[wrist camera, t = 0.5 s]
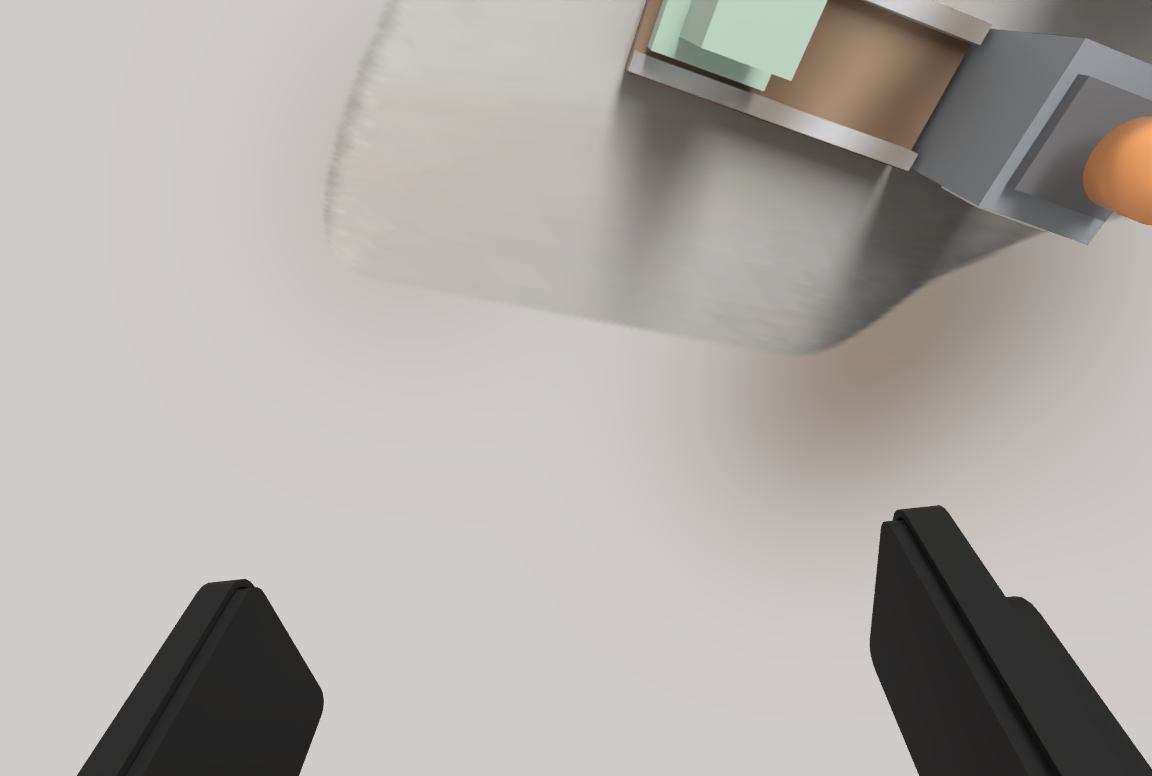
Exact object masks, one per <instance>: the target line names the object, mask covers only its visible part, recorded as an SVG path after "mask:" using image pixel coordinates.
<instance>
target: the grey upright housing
mask: <svg viewBox="0 0 1152 776" xmlns="http://www.w3.org/2000/svg"><path fill="white" fill-rule="evenodd" d="M1145 116H1152V65H1151V64H1148V63H1146V62H1143V61H1141V60H1139V59H1136V58H1134V57H1131V56H1129V55H1126V54H1124V53H1121V52H1119V51H1117V50H1114V49H1112V48H1109V47H1107V46H1104V45H1102V44H1099V43H1097V42H1094V41H1092V40H1090V39H1087V38H1080V37H1069V36H1059V35H1049V34H1038V33H1028V32H1017V31H1007V30H996V29H989V31H988V33H987V35H986V36H985V38H984V40H983V42H982V43H981V45H975V44H971V45H970V46H969V48H968V50H967V52H966V54H965V55H964V57H963V59H962V61H961V62H960V64H959V66H958V68H957V70H956V71H955V73H954V75H953V77H952V78H951V80H950V82H949V84H948V86H947V87H946V89H945V91H944V93H943V94H942V96H941V98H940V100H939V102H938V103H937V105H936V107H935V109H934V110H933V112H932V114H931V116H930V118H929V119H928V121H927V123H926V125H925V126H924V128H923V130H922V132H921V134H920V135H919V137H918V139H917V141H916V142H915V144H914V146H913V148H912V150H911V151H913V152H915V153H917V154H918V156H917V157H916V159H915V161H914V163H913V164H912V166H911V169H913V170H914V171H916V172H918V173H920V174H922V175H923V176H925V177H927V178H929V179H931V180H932V181H934V182H936V183H938V184H940V185H941V186H942V187H941V188H943V189H944V190H946V191H948V192H950V193H952V194H953V195H955V196H957V197H959V198H960V199H962V200H964V201H966V202H968V203H967V204H969V205H971V206H974V207H977V208H979V209H982V210H985V211H987V212H990V213H993V214H996V215H999V216H1002V217H1004V218H1007V219H1010V220H1013V221H1016V222H1018V223H1021V224H1024V225H1027V226H1030V227H1033V228H1035V229H1038V230H1041V231H1045V230H1047V231H1050V232H1053V233H1056V234H1059V235H1062V236H1064V237H1067V238H1070V239H1073V240H1076V241H1079V242H1081V243H1084V244H1089V242H1090V241H1091V240H1092V238H1093V237H1094V236H1095V234H1096V233H1097V232H1098V230H1099V229H1100V228H1101V226H1102V225H1103V224H1104V222H1105V221H1106V220H1107V219H1108V217H1109V216H1110V215H1111V213H1112V212H1113V211H1111V210H1109V209H1106V208H1104V207H1102V206H1099V205H1097V204H1095V203H1094V202H1092V201H1091V200H1090V199H1089V198H1088V196H1087V195H1086V193H1085V190H1084V187H1083V172H1084V168H1085V165H1086V163H1087V160H1088V158H1089V156H1090V154H1091V153H1092V151H1093V150H1094V148H1095V147H1096V146H1097V144H1098V143H1099V142H1100V141H1101V140H1102V139H1103V138H1104V137H1105V136H1106V135H1107V134H1108V133H1110V132H1111V131H1112V130H1114V129H1115V128H1117V127H1118V126H1120V125H1122V124H1123V123H1125V122H1127V121H1130V120H1133V119H1136V118H1139V117H1145Z"/></svg>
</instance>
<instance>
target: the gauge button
mask: <svg viewBox="0 0 1152 776" xmlns="http://www.w3.org/2000/svg"><path fill="white" fill-rule="evenodd" d="M1083 187H1084V190H1085V193H1086V195H1087V196H1088V198H1089V199H1090V200H1091V201H1092V202H1094V203H1095V204H1097V205H1099V206H1102V207H1104V208H1106V209H1109V210H1111V211H1113V212H1116V213H1118V214H1121V215H1123V216H1125V217H1128V218H1130V219H1132V220H1135V221H1137V222H1140V223H1142V224H1146V225H1152V116H1145V117H1139V118H1136V119H1133V120H1130V121H1127V122H1125V123H1123V124H1122V125H1120V126H1118V127H1117V128H1115V129H1114V130H1112V131H1111V132H1110V133H1108V134H1107V135H1106V136H1105V137H1104V138H1103V139H1102V140H1101V141H1100V142H1099V143H1098V144H1097V146H1096V147H1095V148H1094V150H1093V151H1092V153H1091V154H1090V156H1089V158H1088V160H1087V163H1086V165H1085V168H1084V172H1083Z"/></svg>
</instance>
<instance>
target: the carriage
mask: <svg viewBox="0 0 1152 776" xmlns="http://www.w3.org/2000/svg"><path fill="white" fill-rule="evenodd" d="M826 3H827V0H663V1H662V4H661V7H660V10H659V13H658V16H657V19H656V22H655V25H654V28H653V31H652V34H651V37H650V40H649V43H648V46H647V47H648V48H649V49H650V50H652V51H654V52H657V53H660V54H663V55H665V56H668V57H671V58H674V59H676V60H679V61H682V62H684V63H687V64H690V65H693V66H695V67H698V68H701V69H704V70H706V71H709V72H712V73H715V74H717V75H720V76H723V77H726V78H728V79H731V80H734V81H737V82H739V83H742V84H745V85H748V86H750V87H753V88H756V89H759V90H761V91H765V88H766V86H767V84H768V81H769V79H770V77H771V74H773V75H776V76H779V77H782V78H784V79H787V80H790V81H792V79H793V76H794V74H795V72H796V70H797V67H798V65H799V63H800V61H801V59H802V56H803V54H804V52H805V50H806V47H807V45H808V43H809V41H810V38H811V36H812V34H813V32H814V29H815V27H816V25H817V23H818V20H819V18H820V16H821V14H822V12H823V9H824V7H825V5H826Z"/></svg>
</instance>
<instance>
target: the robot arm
mask: <svg viewBox="0 0 1152 776" xmlns="http://www.w3.org/2000/svg"><path fill="white" fill-rule="evenodd" d="M870 652H871V657H872V661H873V665H874V667H875V670H876V673H877V675H878V677H879V680H880V682H881V685H882V687H883V690H884V692H885V694H886V697H887V699H888V701H889V704H890V706H891V709H892V711H893V714H894V716H895V719H896V721H897V723H898V726H899V728H900V731H901V733H902V735H903V738H904V740H905V742H906V745H907V747H908V750H909V752H910V755H911V757H912V759H913V762H914V764H915V767H916V769H917V771H918V774H919V776H1152V769H1151V767H1150V766H1149V764H1148V763H1147V762H1146V761H1145V759H1144V758H1143V756H1142V755H1141V753H1140V752H1139V751H1138V749H1137V748H1136V747H1135V745H1134V744H1133V742H1132V741H1131V739H1130V738H1129V737H1128V735H1127V734H1126V732H1125V731H1124V730H1123V729H1122V727H1121V725H1120V724H1119V723H1118V721H1117V720H1116V719H1115V717H1114V716H1113V714H1112V713H1111V712H1110V711H1109V709H1108V707H1107V706H1106V705H1105V703H1104V702H1103V700H1102V699H1101V698H1100V696H1099V695H1098V693H1097V692H1096V691H1095V689H1094V688H1093V686H1092V685H1091V684H1090V682H1089V681H1088V680H1087V678H1086V677H1085V675H1084V674H1083V673H1082V671H1081V670H1080V668H1079V667H1078V666H1077V664H1076V663H1075V661H1074V660H1073V659H1072V657H1071V656H1070V654H1069V653H1068V652H1067V650H1066V649H1065V648H1064V646H1063V645H1062V643H1061V642H1060V641H1059V639H1058V638H1057V636H1056V635H1055V634H1054V632H1053V631H1052V629H1051V628H1050V627H1049V625H1048V624H1047V622H1046V621H1045V620H1044V618H1043V617H1042V615H1041V614H1040V613H1039V612H1038V611H1037V609H1036V608H1035V607H1034V606H1033V605H1032V604H1031V603H1030V602H1028V601H1027V600H1025V599H1024V598H1022V597H1015V596H1014V597H1005V596H1004V594H1003V592H1002V591H1001V589H1000V588H999V586H998V585H997V583H996V582H995V581H994V579H993V578H992V576H991V575H990V573H989V572H988V570H987V569H986V567H985V566H984V565H983V563H982V561H981V560H980V558H979V557H978V556H977V554H976V553H975V551H974V550H973V548H972V547H971V545H970V544H969V542H968V541H967V539H966V538H965V536H964V535H963V533H962V532H961V531H960V529H959V528H958V526H957V525H956V523H955V522H954V520H953V519H952V517H951V516H950V514H949V513H948V512H947V511H946V509H945V508H943V507H942V506H939V505H938V506H929V507H920V508H911V509H900V510H897V511H896V512H895V513H894V517H893V521H887V522H883V524H882V526H881V534H880V544H879V555H878V564H877V574H876V584H875V594H874V604H873V614H872V624H871V634H870ZM323 703H324V700H323V693H322V690H321V688H320V686H319V685H318V683H317V681H316V680H315V678H314V676H313V674H312V673H311V671H310V669H309V668H308V666H307V664H306V663H305V661H304V660H303V658H302V656H301V655H300V653H299V651H298V649H297V648H296V646H295V644H294V643H293V641H292V639H291V638H290V636H289V634H288V632H287V631H286V629H285V627H284V626H283V624H282V622H281V621H280V619H279V617H278V616H277V614H276V612H275V611H274V609H273V607H272V606H271V604H270V602H269V601H268V599H267V597H266V596H265V594H264V592H263V591H262V590H261V589H260V588H258V587H254V586H253V584H252V583H251V582H250V581H248V580H246V579H241V580H231V581H222V582H212V583H207V584H205V585H204V586H202V587H201V589H200V590H199V591H198V592H197V594H196V595H195V597H194V598H193V600H192V601H191V603H190V604H189V606H188V607H187V609H186V610H185V612H184V613H183V615H182V616H181V618H180V619H179V621H178V623H177V624H176V625H175V627H174V629H173V630H172V632H171V633H170V635H169V636H168V638H167V639H166V641H165V642H164V644H163V645H162V647H161V648H160V650H159V652H158V653H157V655H156V656H155V658H154V659H153V661H152V662H151V664H150V665H149V667H148V668H147V670H146V671H145V673H144V674H143V676H142V677H141V679H140V681H139V682H138V683H137V685H136V687H135V688H134V690H133V691H132V693H131V694H130V696H129V697H128V699H127V700H126V702H125V703H124V705H123V706H122V708H121V709H120V711H119V712H118V714H117V716H116V717H115V718H114V720H113V722H112V723H111V725H110V726H109V728H108V729H107V731H106V732H105V734H104V735H103V737H102V738H101V740H100V741H99V743H98V744H97V746H96V747H95V749H94V750H93V752H92V754H91V755H90V757H89V758H88V760H87V761H86V763H85V764H84V766H83V767H82V769H81V770H80V772H79V773H78V775H77V776H299V774H300V771H301V769H302V766H303V763H304V760H305V758H306V755H307V753H308V750H309V747H310V744H311V742H312V739H313V736H314V734H315V731H316V728H317V726H318V723H319V720H320V718H321V715H322V711H323V705H324V704H323Z"/></svg>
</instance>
